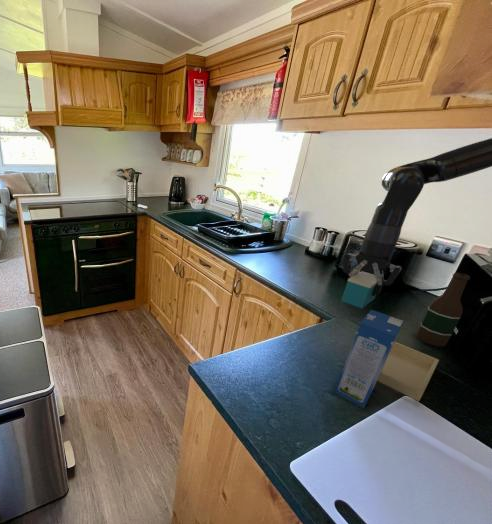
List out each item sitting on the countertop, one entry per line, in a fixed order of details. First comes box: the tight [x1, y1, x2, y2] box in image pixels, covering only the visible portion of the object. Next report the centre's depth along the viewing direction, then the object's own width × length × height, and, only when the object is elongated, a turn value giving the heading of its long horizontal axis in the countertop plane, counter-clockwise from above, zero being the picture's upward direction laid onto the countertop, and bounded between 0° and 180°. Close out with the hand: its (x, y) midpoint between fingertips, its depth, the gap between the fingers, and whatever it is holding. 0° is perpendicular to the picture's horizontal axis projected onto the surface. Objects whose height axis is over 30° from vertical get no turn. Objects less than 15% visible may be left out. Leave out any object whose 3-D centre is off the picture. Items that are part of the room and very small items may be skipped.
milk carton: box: [333, 309, 405, 409], centre depth 69 cm, size 10×6×20 cm, turn 131°
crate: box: [377, 341, 440, 402], centre depth 81 cm, size 16×22×3 cm
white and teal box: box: [340, 270, 377, 309], centre depth 89 cm, size 6×12×8 cm, turn 128°
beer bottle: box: [415, 272, 471, 348], centre depth 92 cm, size 8×8×24 cm
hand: (361, 290), depth 89 cm, fingers closed on white and teal box, 6 cm apart
